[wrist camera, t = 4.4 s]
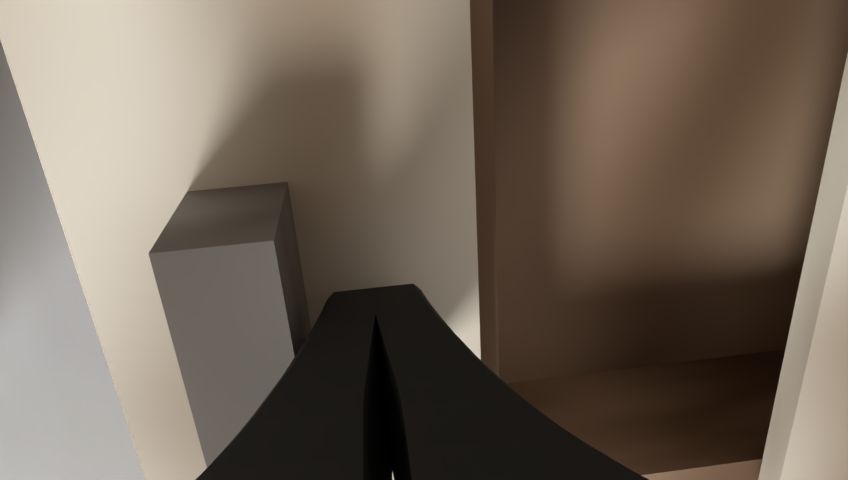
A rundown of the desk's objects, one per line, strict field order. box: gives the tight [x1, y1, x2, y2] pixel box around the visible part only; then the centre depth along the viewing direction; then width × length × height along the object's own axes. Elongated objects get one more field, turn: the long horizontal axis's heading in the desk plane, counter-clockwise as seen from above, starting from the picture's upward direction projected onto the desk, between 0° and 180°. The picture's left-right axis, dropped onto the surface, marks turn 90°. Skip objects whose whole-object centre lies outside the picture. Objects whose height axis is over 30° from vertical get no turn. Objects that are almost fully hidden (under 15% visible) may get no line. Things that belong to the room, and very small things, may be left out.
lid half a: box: [0, 0, 481, 480], centre depth 10 cm, size 6×11×3 cm, turn 3°
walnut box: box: [470, 0, 848, 480], centre depth 13 cm, size 12×11×4 cm
